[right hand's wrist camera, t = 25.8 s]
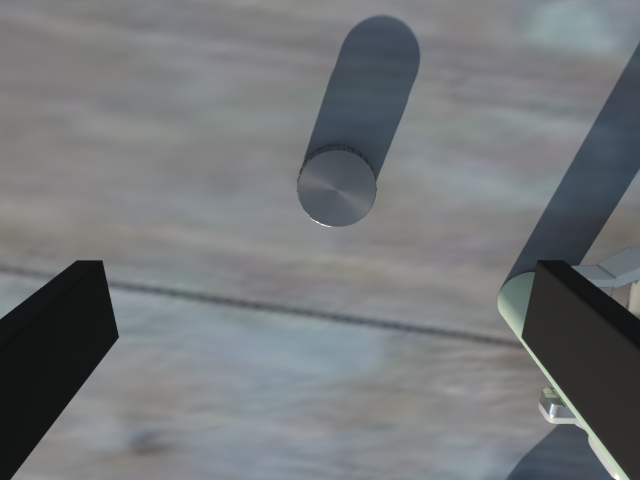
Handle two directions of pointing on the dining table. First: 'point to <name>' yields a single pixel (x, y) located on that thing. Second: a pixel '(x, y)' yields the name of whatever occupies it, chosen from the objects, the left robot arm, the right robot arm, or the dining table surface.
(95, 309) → the right robot arm
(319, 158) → the lid
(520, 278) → the jar
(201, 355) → the dining table surface
